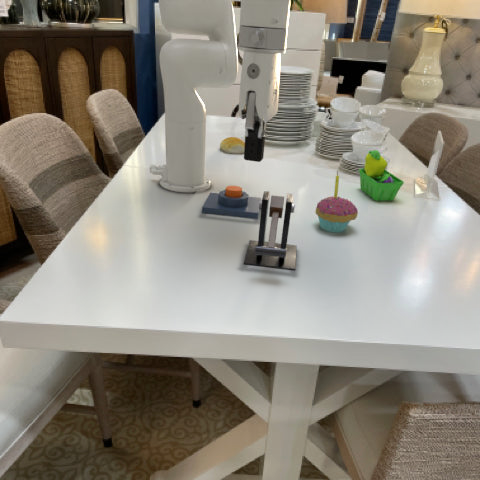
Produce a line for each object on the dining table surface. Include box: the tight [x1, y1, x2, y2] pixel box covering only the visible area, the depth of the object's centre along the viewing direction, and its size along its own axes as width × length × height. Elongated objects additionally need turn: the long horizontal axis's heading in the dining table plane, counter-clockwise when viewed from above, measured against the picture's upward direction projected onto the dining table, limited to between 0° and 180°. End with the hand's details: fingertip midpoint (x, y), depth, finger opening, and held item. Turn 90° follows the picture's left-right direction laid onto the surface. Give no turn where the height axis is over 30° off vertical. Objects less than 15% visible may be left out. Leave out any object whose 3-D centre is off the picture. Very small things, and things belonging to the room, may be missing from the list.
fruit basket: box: [358, 149, 405, 202], centre depth 119 cm, size 11×9×11 cm
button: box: [225, 185, 243, 198], centre depth 102 cm, size 4×4×2 cm
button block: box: [201, 189, 263, 220], centre depth 104 cm, size 12×10×4 cm
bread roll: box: [219, 136, 245, 155], centre depth 149 cm, size 8×9×4 cm
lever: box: [255, 195, 287, 258], centre depth 78 cm, size 12×5×2 cm, turn 173°
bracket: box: [243, 190, 298, 271], centre depth 83 cm, size 10×9×12 cm
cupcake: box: [315, 171, 359, 233], centre depth 96 cm, size 9×8×12 cm
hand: (253, 159), depth 84 cm, fingers closed
